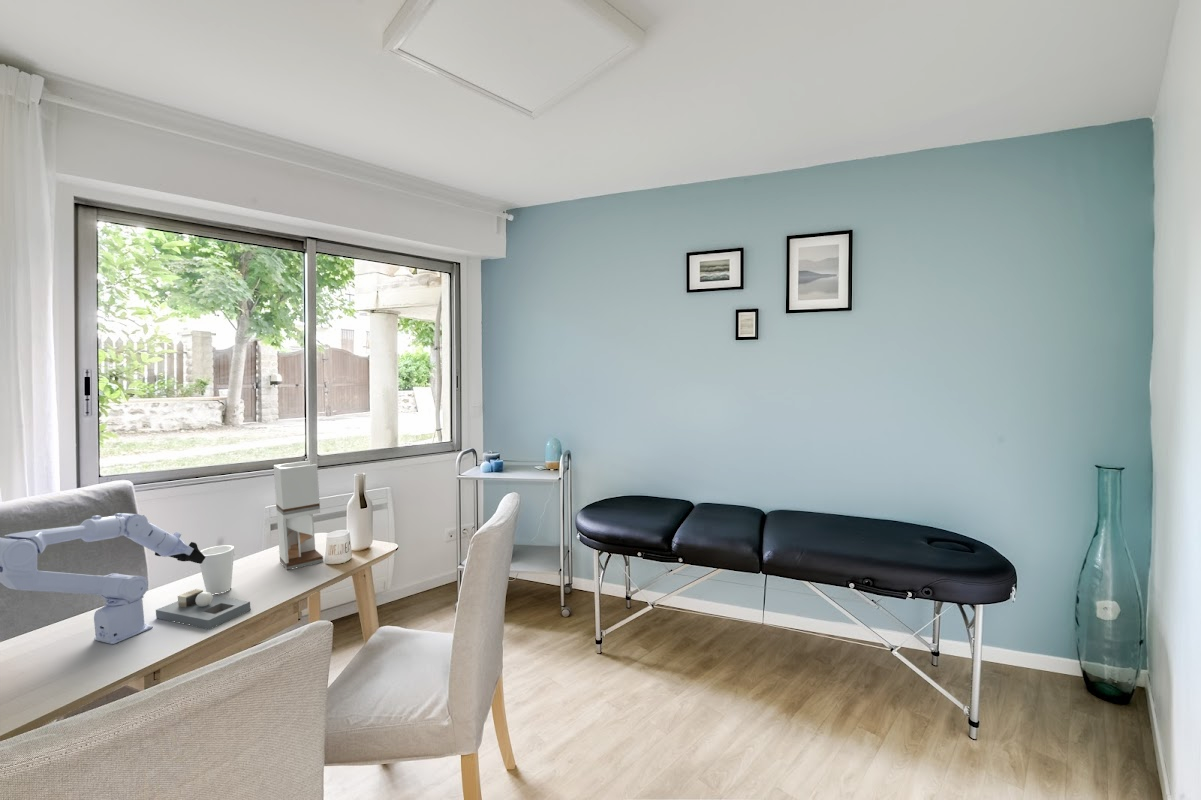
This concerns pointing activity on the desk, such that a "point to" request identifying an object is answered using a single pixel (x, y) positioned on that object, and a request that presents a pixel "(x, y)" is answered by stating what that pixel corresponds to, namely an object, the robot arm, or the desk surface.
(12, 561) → the robot arm
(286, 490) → the white coffee grinder
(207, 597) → the ball
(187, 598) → the cream rectangular block
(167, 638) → the desk surface
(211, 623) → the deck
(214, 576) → the foam cup
